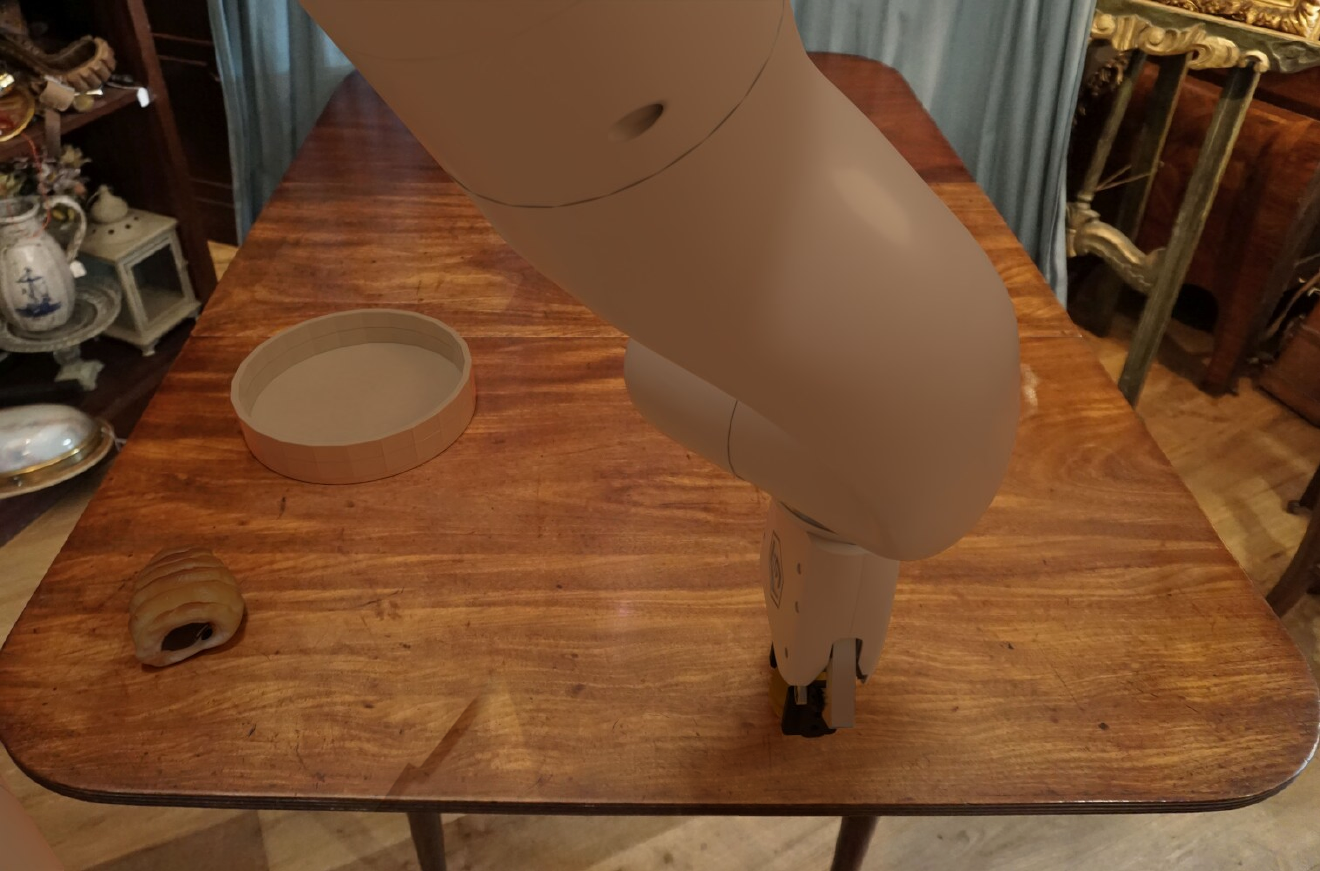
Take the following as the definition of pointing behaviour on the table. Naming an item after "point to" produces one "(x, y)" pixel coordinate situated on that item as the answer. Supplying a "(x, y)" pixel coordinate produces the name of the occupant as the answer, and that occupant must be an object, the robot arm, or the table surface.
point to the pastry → (183, 605)
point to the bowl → (355, 395)
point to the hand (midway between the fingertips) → (801, 694)
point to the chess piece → (782, 690)
